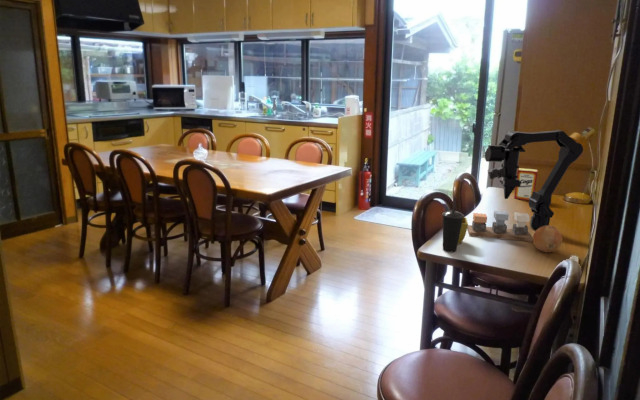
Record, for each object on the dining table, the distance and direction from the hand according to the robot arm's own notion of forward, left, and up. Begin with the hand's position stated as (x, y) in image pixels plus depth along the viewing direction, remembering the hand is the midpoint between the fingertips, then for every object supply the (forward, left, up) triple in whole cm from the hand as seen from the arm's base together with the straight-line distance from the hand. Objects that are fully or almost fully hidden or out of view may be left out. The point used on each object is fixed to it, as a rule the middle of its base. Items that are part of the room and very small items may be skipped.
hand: (505, 198), depth 200 cm
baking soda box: (-21, -60, -13) cm, 65 cm away
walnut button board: (+3, +10, -13) cm, 17 cm away
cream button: (-5, +10, -9) cm, 14 cm away
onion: (-11, +25, -13) cm, 31 cm away
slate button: (+3, +10, -9) cm, 14 cm away
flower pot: (+22, +24, -13) cm, 35 cm away
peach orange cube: (+11, +10, -11) cm, 18 cm away
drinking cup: (+24, +34, -13) cm, 44 cm away
